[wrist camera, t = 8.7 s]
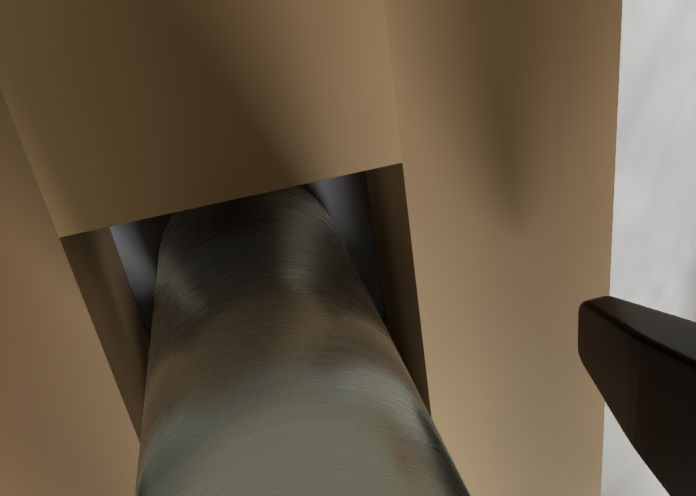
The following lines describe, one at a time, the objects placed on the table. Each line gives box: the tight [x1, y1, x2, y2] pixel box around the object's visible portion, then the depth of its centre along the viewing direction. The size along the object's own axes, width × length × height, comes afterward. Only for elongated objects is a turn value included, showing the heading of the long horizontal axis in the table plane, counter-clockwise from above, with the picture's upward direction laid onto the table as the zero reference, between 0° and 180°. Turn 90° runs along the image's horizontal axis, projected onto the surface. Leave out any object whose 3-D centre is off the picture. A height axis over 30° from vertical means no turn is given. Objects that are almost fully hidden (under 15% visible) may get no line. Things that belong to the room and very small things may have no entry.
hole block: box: [0, 0, 622, 496], centre depth 12 cm, size 12×18×3 cm, turn 8°
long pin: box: [135, 185, 471, 496], centre depth 9 cm, size 4×4×10 cm
